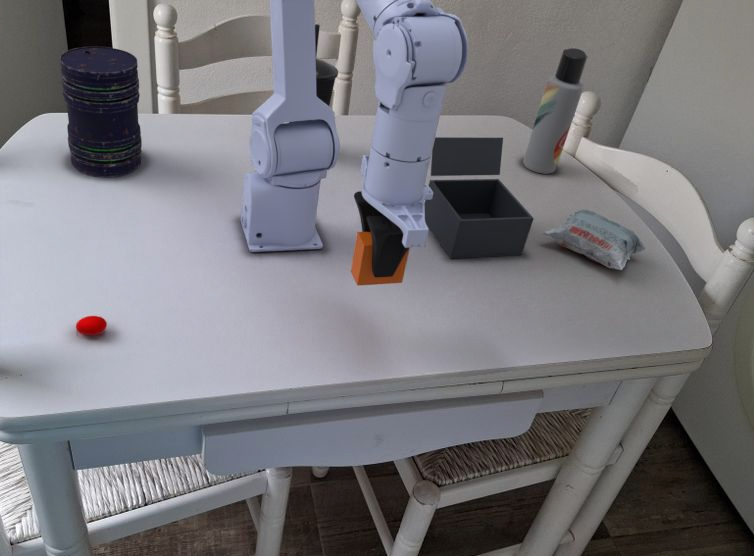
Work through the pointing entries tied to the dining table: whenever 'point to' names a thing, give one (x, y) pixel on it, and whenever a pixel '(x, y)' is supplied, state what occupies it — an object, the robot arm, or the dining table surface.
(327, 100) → the drinking cup
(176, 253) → the dining table surface
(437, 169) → the bin flap
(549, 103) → the lotion bottle
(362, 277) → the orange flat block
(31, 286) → the dining table surface
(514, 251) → the bin
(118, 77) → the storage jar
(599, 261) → the packaged food
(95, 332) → the candy
